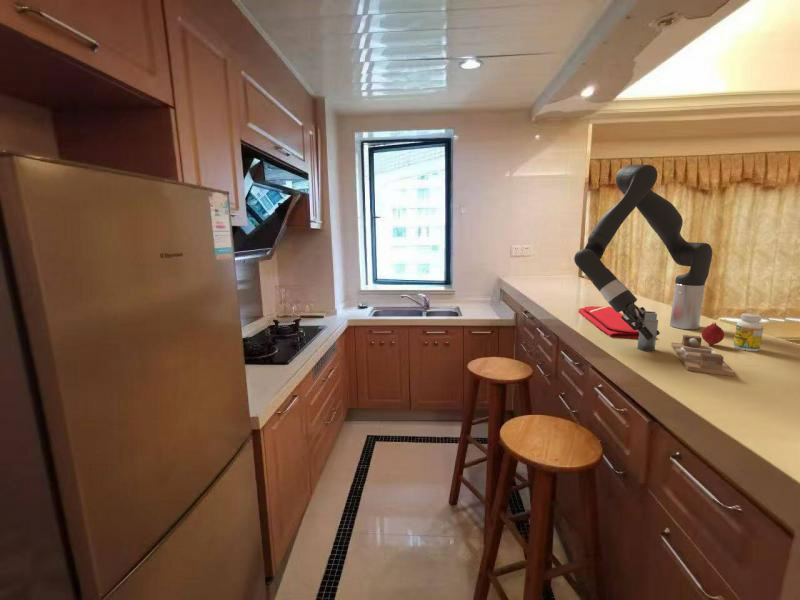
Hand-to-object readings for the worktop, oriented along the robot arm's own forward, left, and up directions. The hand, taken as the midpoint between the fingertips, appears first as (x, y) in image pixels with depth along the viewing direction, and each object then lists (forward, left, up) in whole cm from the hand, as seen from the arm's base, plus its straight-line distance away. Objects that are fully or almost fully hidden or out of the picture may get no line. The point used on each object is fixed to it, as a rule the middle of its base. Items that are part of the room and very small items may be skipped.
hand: (654, 336), depth 119 cm
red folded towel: (-32, -10, -5) cm, 34 cm away
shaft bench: (+4, +11, -5) cm, 13 cm away
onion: (-14, +18, -5) cm, 23 cm away
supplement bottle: (-14, +27, -5) cm, 31 cm away
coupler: (-1, -2, -5) cm, 5 cm away
